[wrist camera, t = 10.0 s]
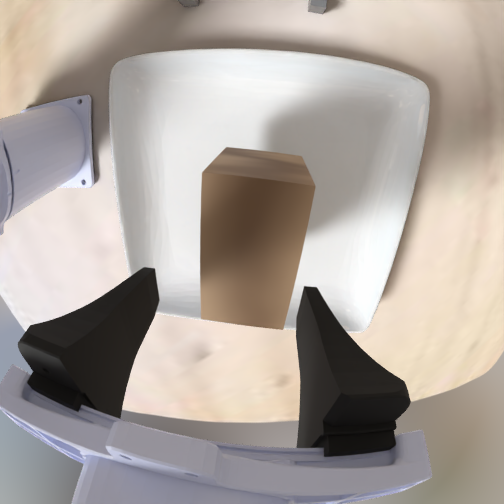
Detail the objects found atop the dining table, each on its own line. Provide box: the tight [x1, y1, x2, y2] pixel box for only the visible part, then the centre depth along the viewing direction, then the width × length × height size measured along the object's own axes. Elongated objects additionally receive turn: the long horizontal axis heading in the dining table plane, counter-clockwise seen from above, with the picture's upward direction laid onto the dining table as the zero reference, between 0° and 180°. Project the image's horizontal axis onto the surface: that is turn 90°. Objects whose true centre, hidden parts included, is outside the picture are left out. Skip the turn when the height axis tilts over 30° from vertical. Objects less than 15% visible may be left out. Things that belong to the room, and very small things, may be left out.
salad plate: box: [109, 48, 430, 333], centre depth 19 cm, size 21×21×3 cm
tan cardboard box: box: [200, 147, 316, 330], centre depth 15 cm, size 4×8×6 cm, turn 174°
